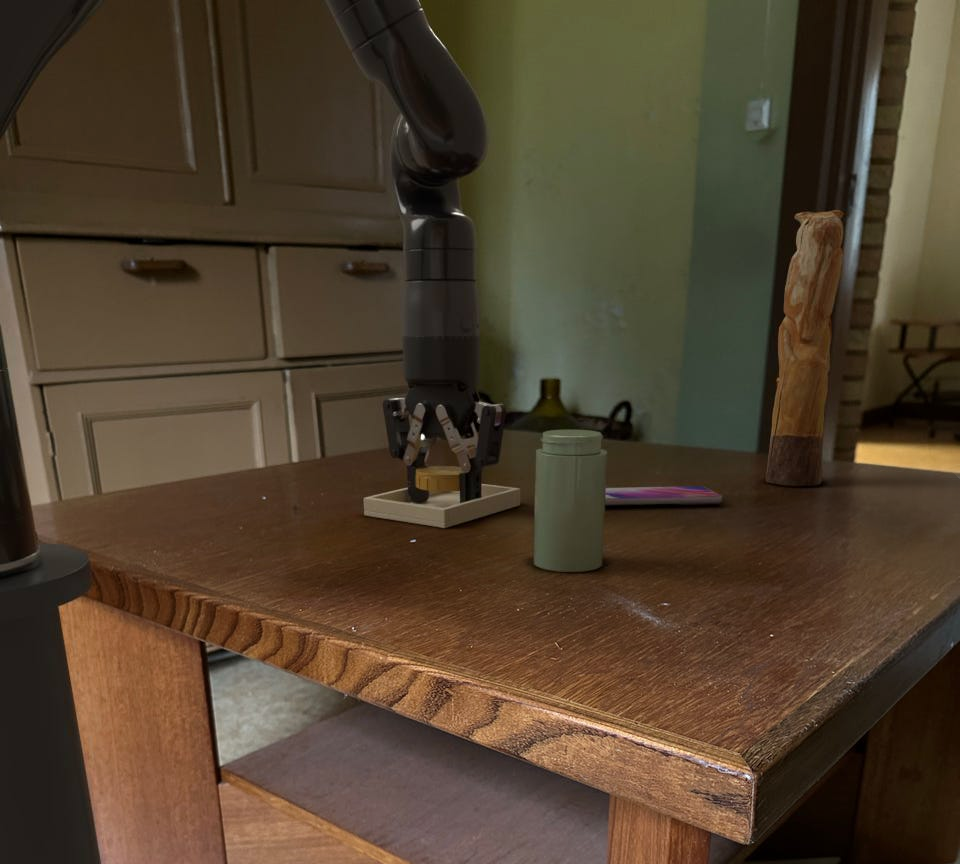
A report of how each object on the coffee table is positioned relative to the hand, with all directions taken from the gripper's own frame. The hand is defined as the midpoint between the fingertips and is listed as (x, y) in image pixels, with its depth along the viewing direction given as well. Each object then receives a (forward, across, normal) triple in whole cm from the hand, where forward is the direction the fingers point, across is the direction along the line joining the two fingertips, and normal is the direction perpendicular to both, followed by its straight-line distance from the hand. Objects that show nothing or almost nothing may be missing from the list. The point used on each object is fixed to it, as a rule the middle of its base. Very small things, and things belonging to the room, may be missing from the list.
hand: (443, 504), depth 94 cm
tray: (+1, 0, 0) cm, 1 cm away
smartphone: (+1, -15, -16) cm, 22 cm away
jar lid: (-3, 0, 0) cm, 3 cm away
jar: (+1, -21, +11) cm, 24 cm away
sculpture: (+1, -24, -38) cm, 45 cm away
